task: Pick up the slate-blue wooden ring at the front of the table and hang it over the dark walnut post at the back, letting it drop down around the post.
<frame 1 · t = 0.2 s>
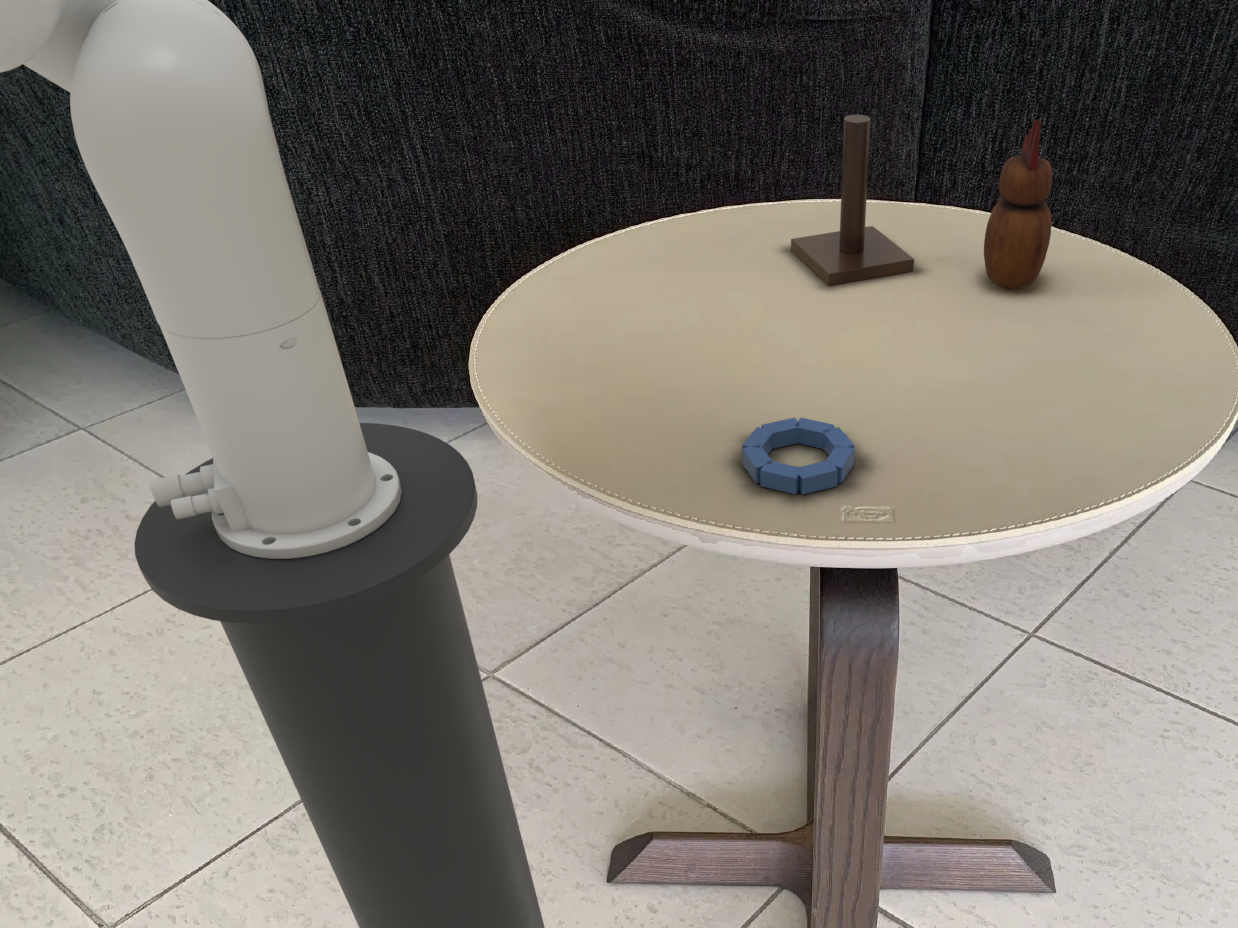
ring: (798, 463, 77), on the table
wooden figurine: (1010, 282, 101), on the table
post: (851, 260, 104), on the table
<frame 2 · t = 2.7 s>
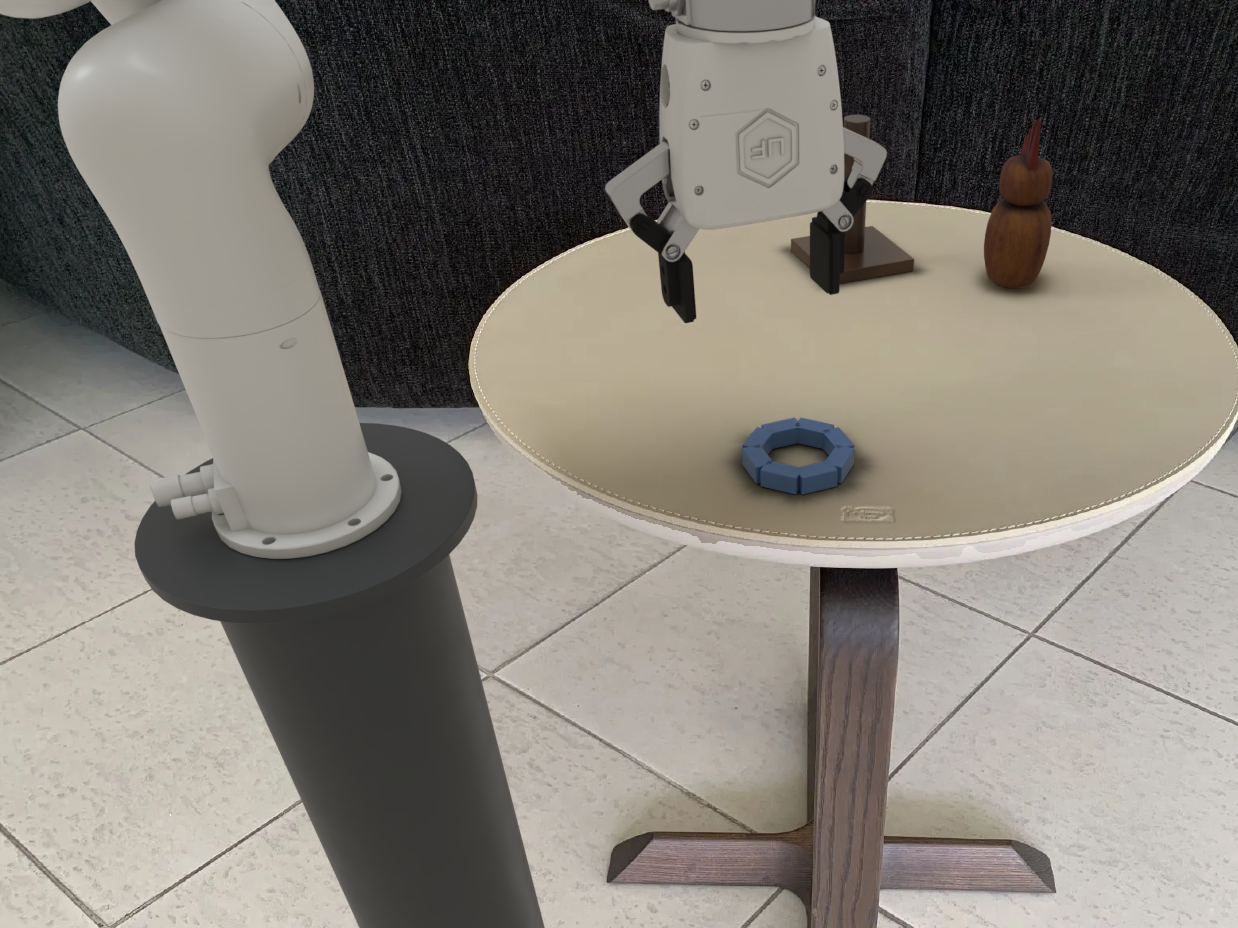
hand: (755, 299, 68), 13 cm above the table, tool pointing down, fingers open, 9 cm apart
nothing on the table moved.
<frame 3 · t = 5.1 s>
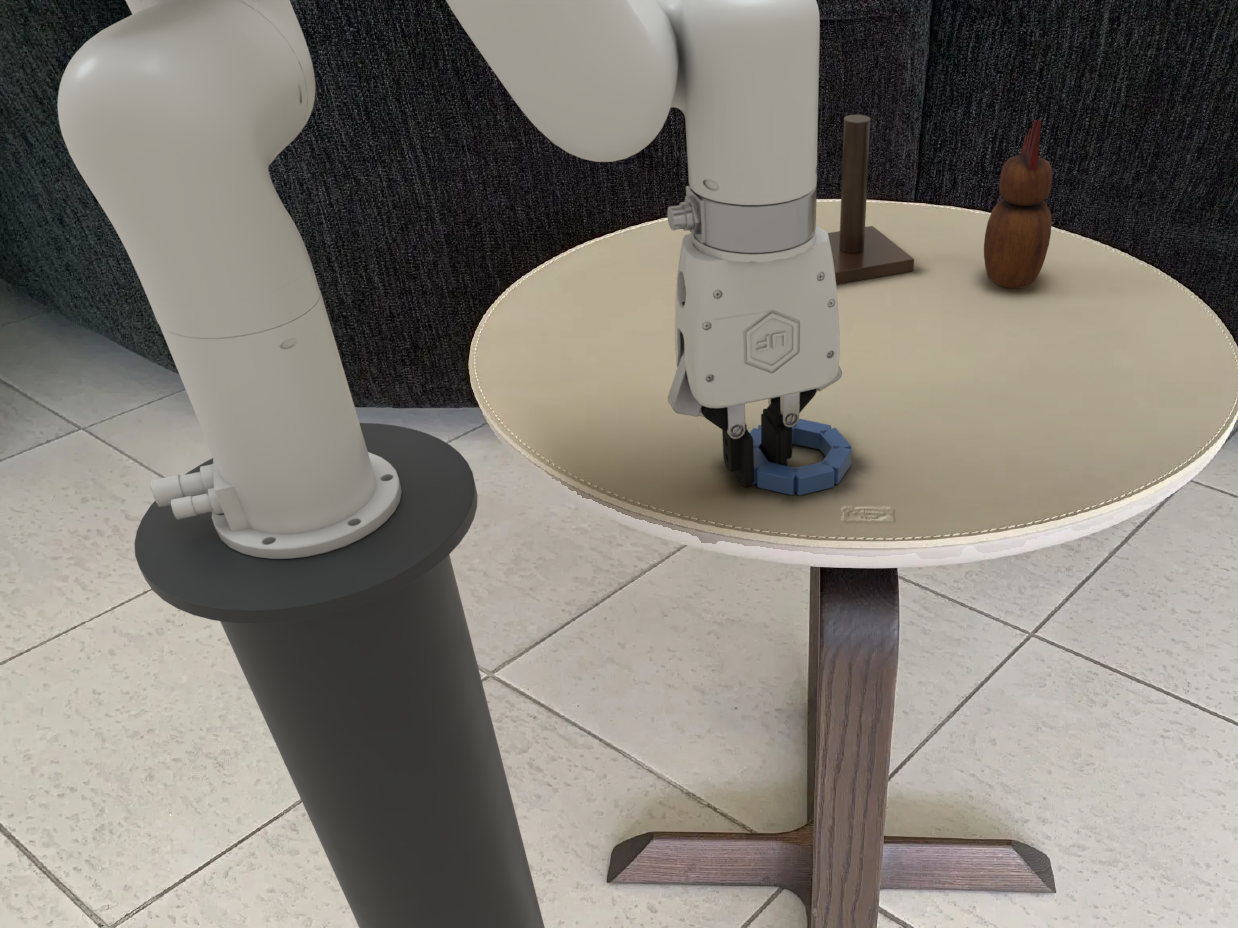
hand: (758, 470, 76), 0 cm above the table, tool pointing down, fingers closed on ring
ring: (794, 463, 77), on the table, touching gripper
everything else where it was.
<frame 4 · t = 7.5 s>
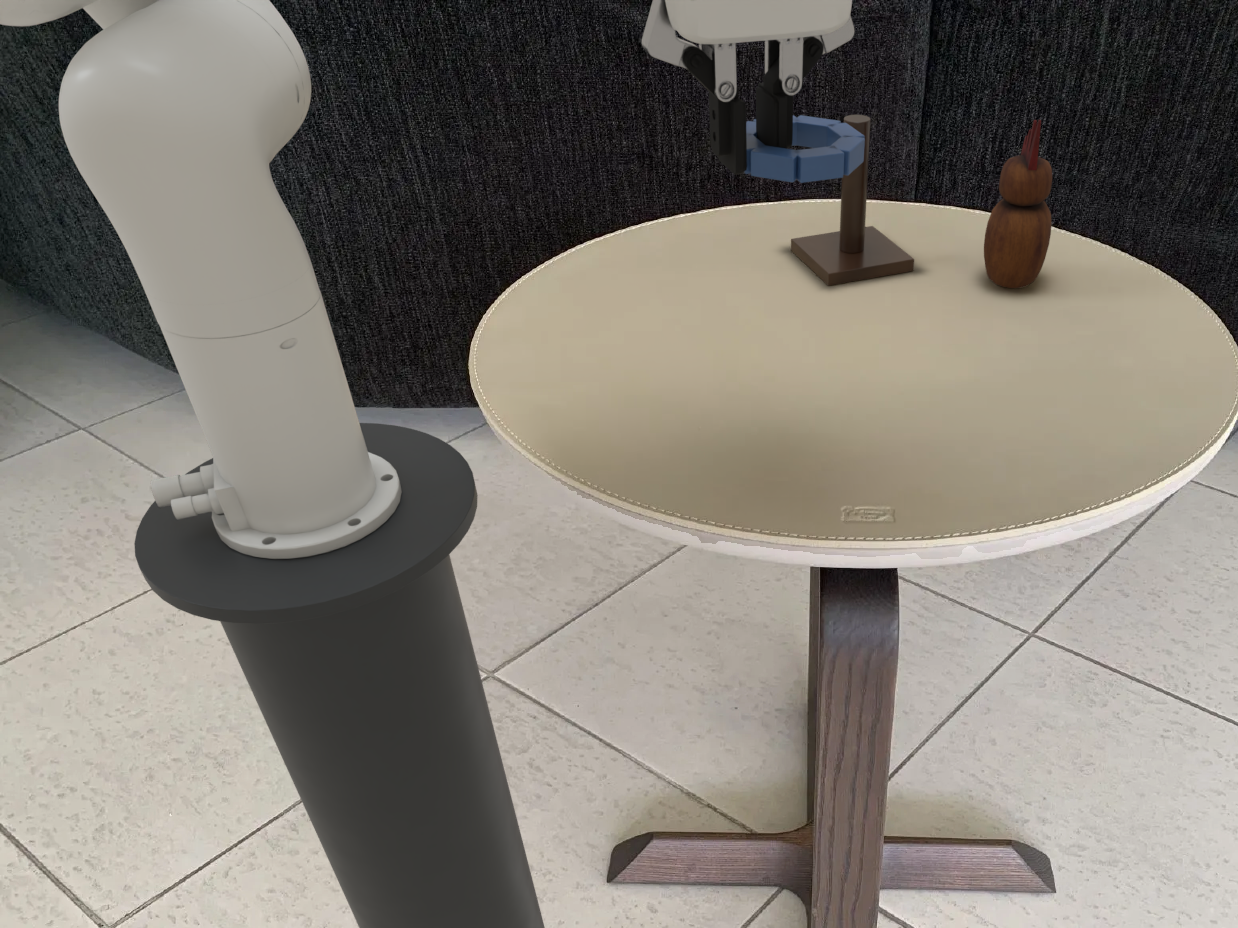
hand: (751, 162, 63), 21 cm above the table, tool pointing down, fingers closed on ring
ring: (796, 159, 64), point 21 cm above the table, touching gripper
everything else where it was.
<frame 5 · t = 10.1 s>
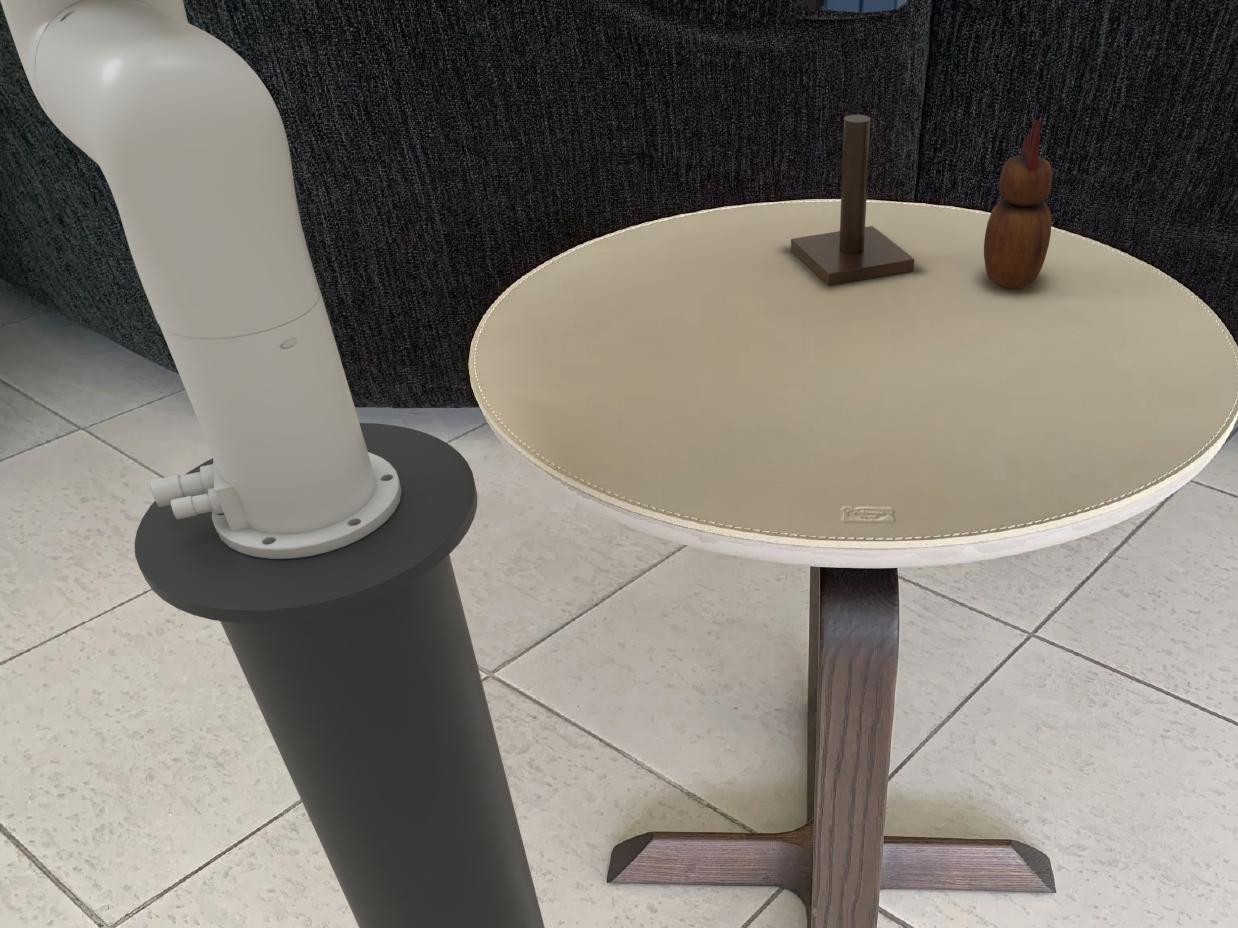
hand: (825, 2, 87), 23 cm above the table, tool pointing down, fingers closed on ring
ring: (858, 1, 88), point 23 cm above the table, touching gripper
everything else where it was.
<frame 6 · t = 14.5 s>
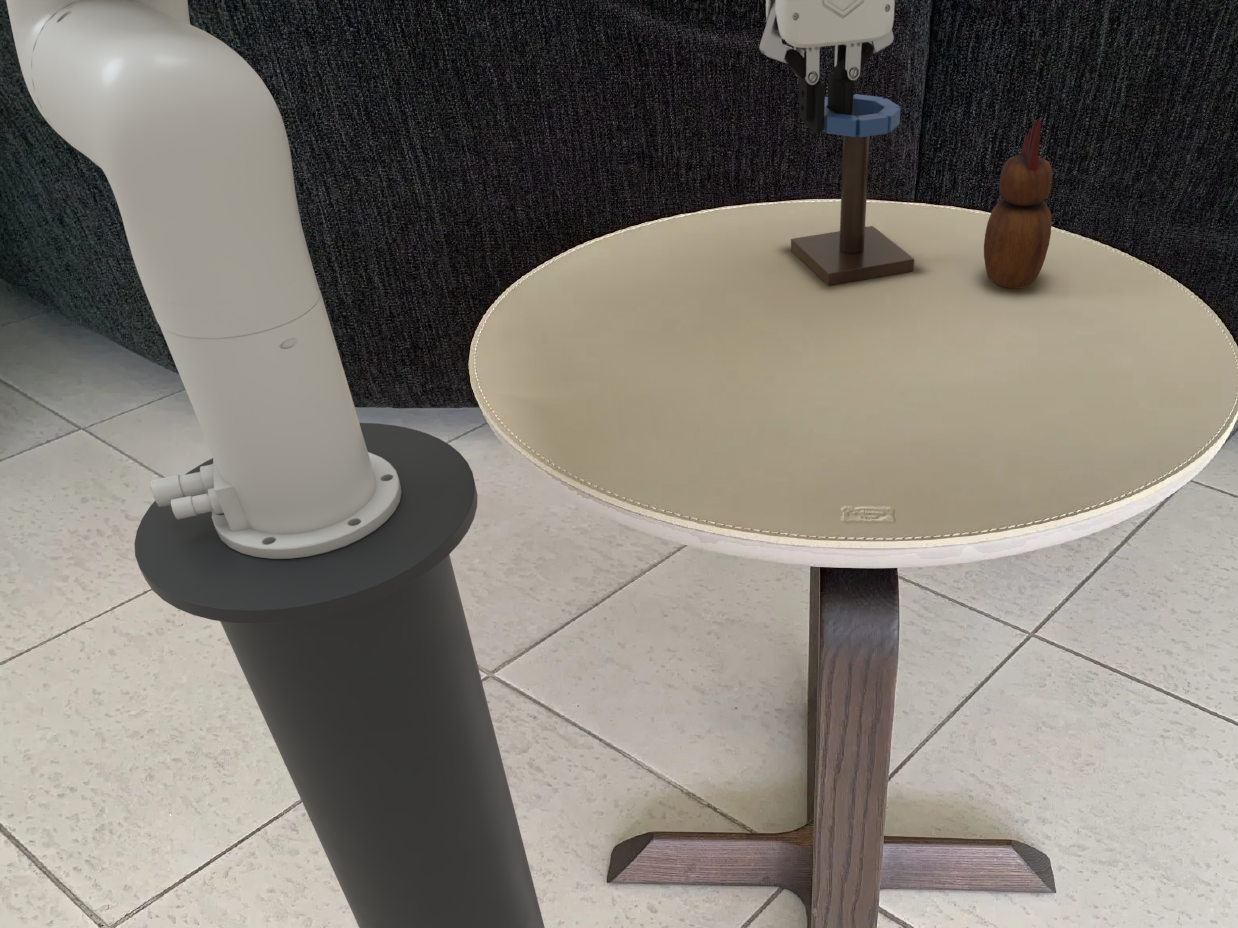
hand: (825, 125, 95), 13 cm above the table, tool pointing down, fingers closed on ring
ring: (854, 123, 96), point 13 cm above the table, touching gripper
everything else where it was.
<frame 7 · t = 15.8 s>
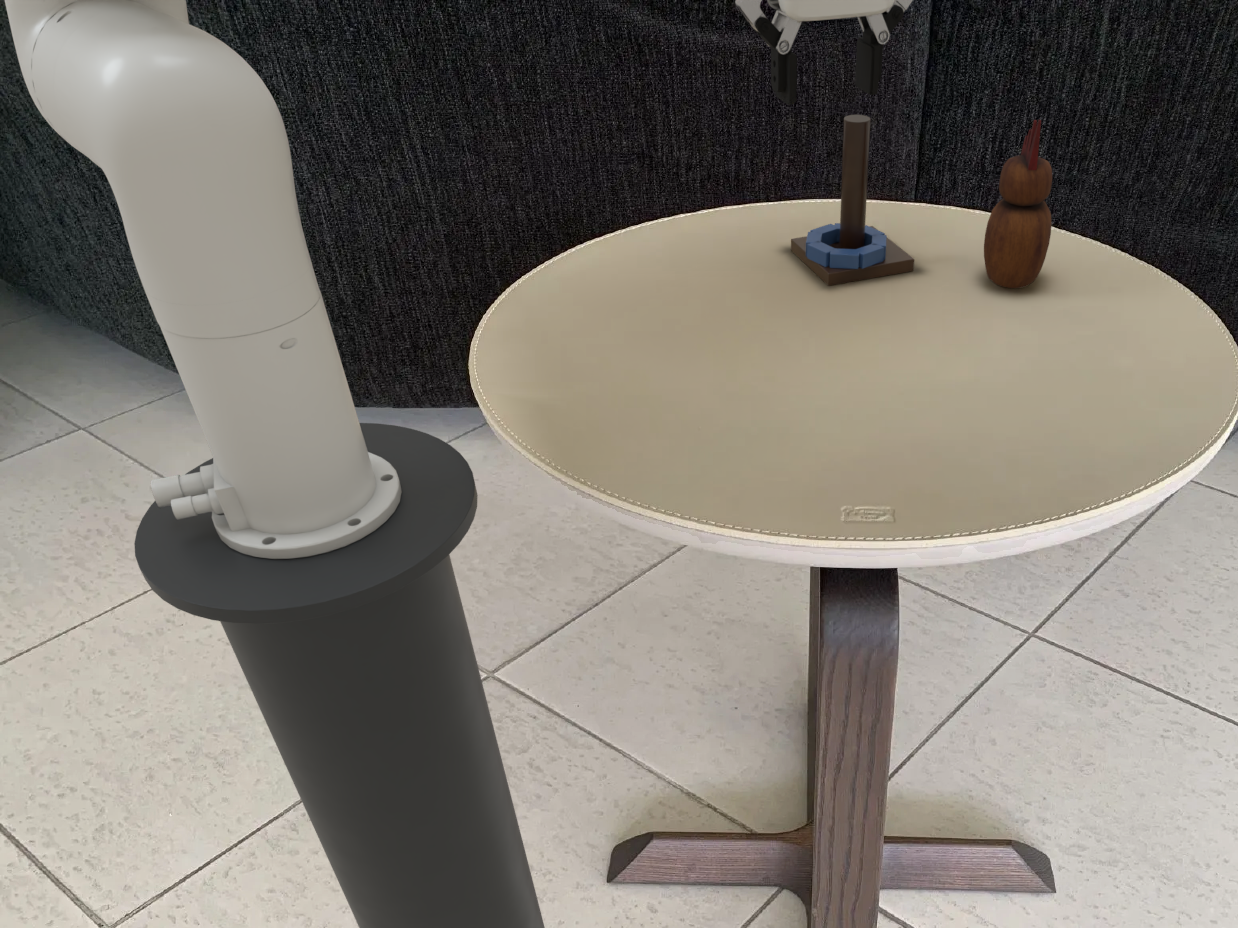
hand: (826, 94, 93), 16 cm above the table, tool pointing down, fingers open, 7 cm apart
ring: (846, 252, 103), point 1 cm above the table, touching post
everything else where it was.
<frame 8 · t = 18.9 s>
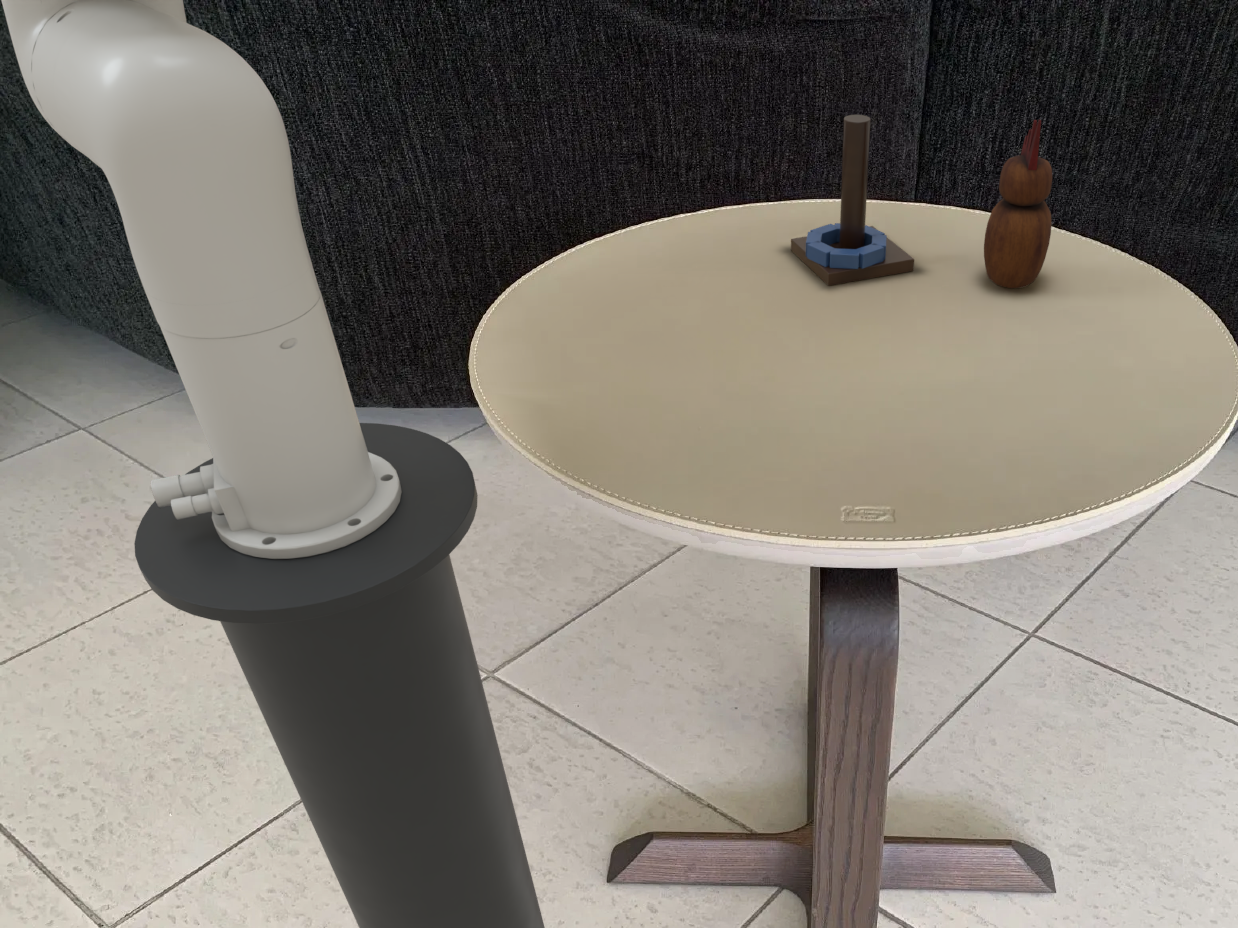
nothing on the table moved.
at the end: ring 1.1 cm off-centre on the post, point 1.2 cm above the post's base; the gripper is holding nothing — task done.
